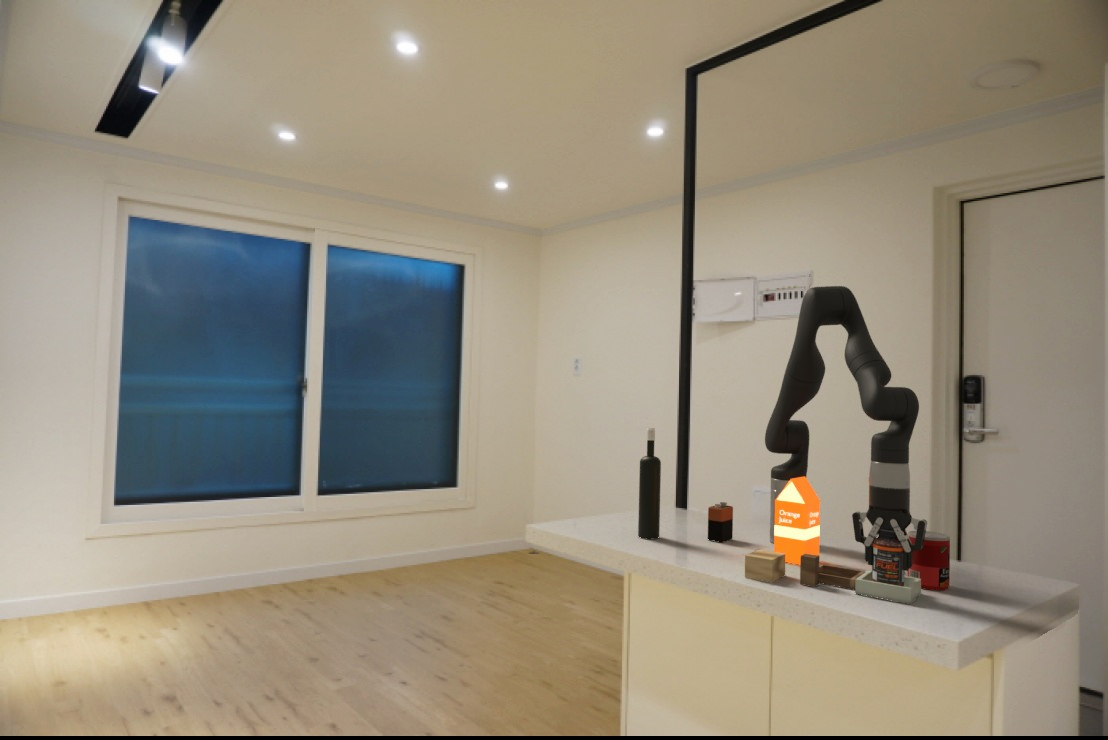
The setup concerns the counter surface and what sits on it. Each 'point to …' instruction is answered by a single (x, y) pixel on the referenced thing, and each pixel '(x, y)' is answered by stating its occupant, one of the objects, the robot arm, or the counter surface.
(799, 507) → the orange juice
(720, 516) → the battery
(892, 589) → the tray
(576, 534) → the counter surface
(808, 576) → the post
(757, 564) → the natural wood cube
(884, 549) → the supplement bottle
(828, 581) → the frame
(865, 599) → the counter surface
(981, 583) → the counter surface
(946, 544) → the canned food
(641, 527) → the wine bottle
